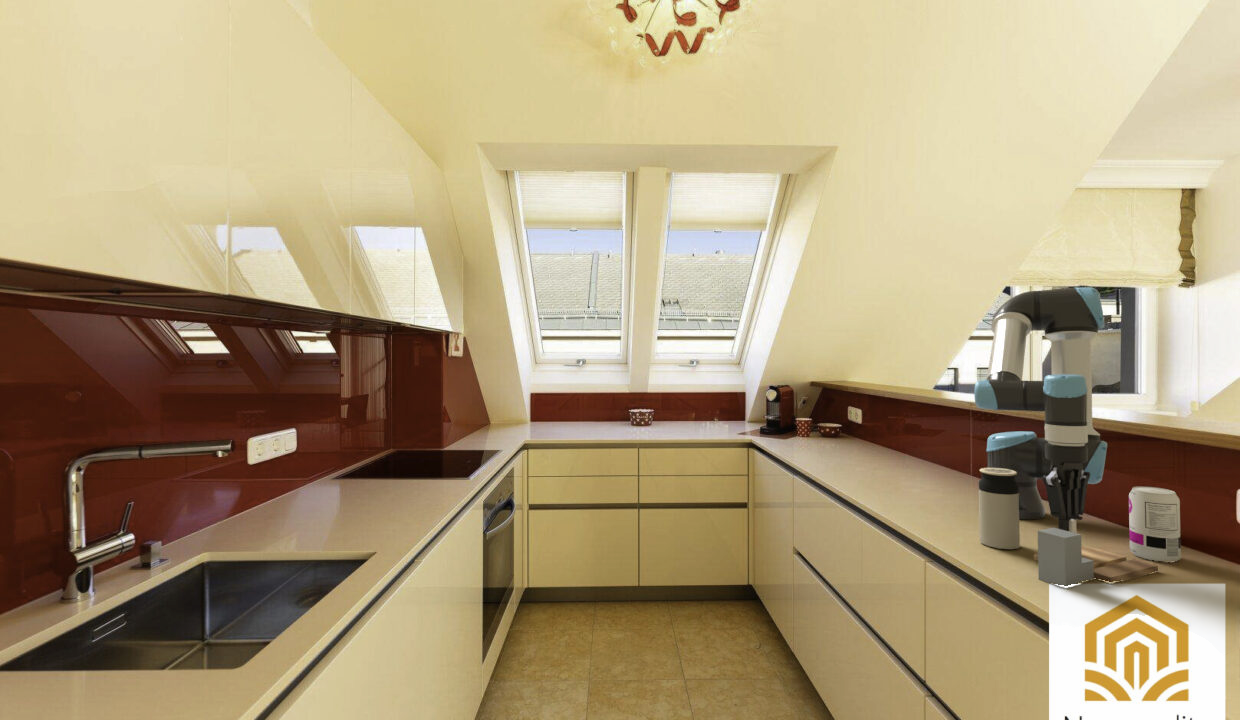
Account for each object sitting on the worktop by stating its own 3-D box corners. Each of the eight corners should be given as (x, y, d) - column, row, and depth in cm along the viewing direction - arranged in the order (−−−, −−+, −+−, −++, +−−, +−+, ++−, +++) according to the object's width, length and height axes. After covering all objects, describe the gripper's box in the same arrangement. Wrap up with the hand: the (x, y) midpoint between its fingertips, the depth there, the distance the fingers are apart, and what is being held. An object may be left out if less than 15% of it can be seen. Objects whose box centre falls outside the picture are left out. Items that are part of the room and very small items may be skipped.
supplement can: (1122, 554, 125) (1120, 488, 125) (1141, 548, 128) (1140, 484, 128) (1169, 566, 117) (1167, 496, 117) (1188, 559, 121) (1187, 491, 121)
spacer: (1069, 572, 115) (1068, 524, 115) (1096, 581, 111) (1095, 531, 111) (1038, 579, 112) (1037, 530, 112) (1065, 588, 107) (1064, 537, 107)
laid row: (1131, 564, 119) (1131, 557, 119) (1158, 571, 114) (1157, 565, 114) (1084, 576, 113) (1084, 569, 113) (1110, 584, 109) (1110, 577, 109)
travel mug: (1026, 551, 128) (1025, 474, 128) (988, 549, 129) (987, 473, 129) (1009, 540, 136) (1008, 467, 136) (974, 538, 137) (972, 467, 137)
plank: (1079, 549, 128) (1079, 544, 128) (1128, 562, 119) (1128, 557, 119) (1034, 559, 122) (1033, 554, 122) (1081, 574, 114) (1081, 568, 114)
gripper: (1066, 438, 129) (1068, 538, 129) (1028, 443, 124) (1031, 546, 125) (1103, 443, 122) (1105, 548, 122) (1065, 448, 117) (1067, 557, 118)
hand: (1067, 547), depth 123 cm, fingers closed
